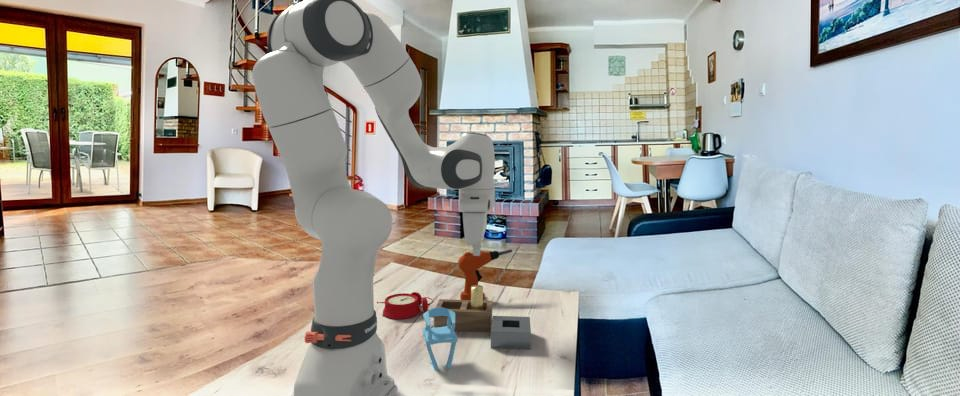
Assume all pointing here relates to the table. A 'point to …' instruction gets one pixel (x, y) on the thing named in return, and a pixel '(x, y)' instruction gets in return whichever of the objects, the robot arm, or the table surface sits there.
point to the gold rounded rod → (476, 297)
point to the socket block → (511, 332)
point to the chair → (440, 333)
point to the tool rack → (466, 316)
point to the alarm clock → (404, 305)
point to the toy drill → (475, 269)
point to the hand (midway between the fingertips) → (477, 254)
